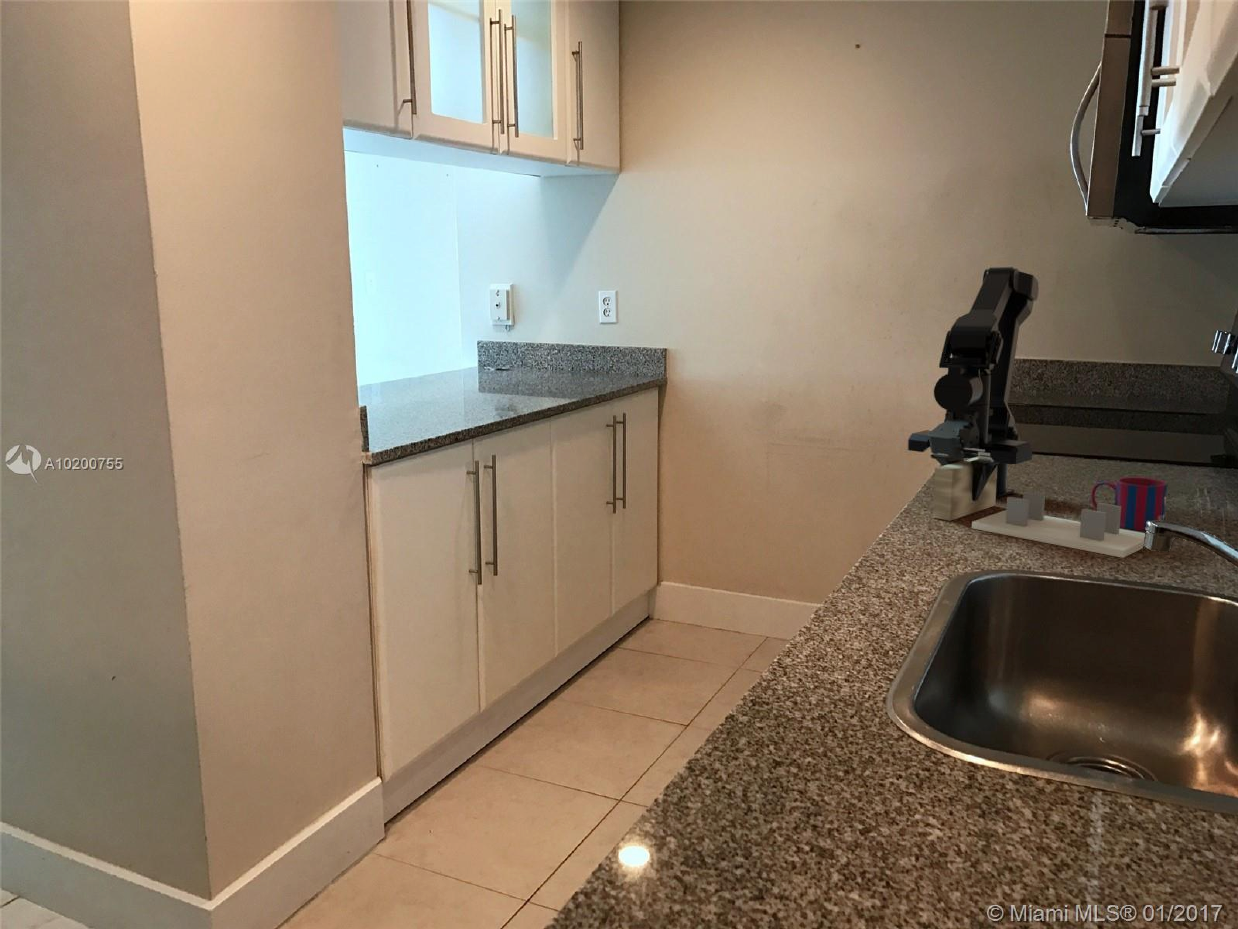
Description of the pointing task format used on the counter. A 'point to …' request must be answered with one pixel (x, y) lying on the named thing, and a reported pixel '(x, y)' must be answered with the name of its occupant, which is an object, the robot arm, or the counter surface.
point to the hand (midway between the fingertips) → (965, 498)
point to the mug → (1137, 500)
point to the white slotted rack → (1064, 526)
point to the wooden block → (960, 491)
